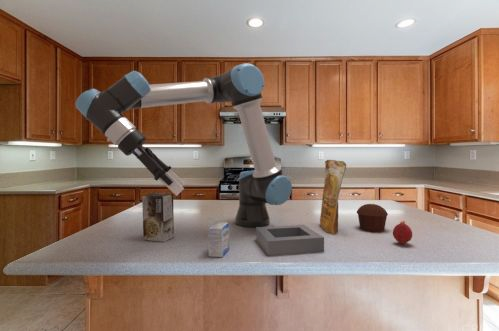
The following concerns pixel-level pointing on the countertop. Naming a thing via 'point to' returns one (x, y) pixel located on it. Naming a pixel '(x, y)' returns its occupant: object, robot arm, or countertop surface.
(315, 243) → the frame
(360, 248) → the countertop surface
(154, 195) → the coffee box
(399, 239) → the red rounded lump
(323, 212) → the pancake mix bag
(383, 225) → the muffin
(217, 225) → the medicine box
